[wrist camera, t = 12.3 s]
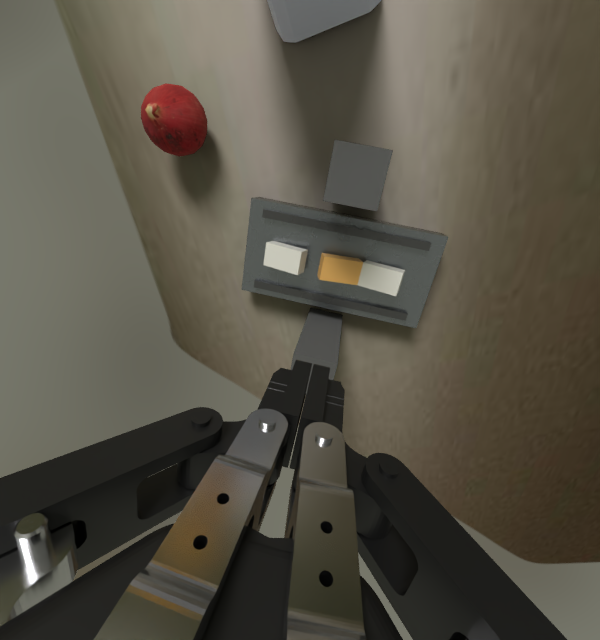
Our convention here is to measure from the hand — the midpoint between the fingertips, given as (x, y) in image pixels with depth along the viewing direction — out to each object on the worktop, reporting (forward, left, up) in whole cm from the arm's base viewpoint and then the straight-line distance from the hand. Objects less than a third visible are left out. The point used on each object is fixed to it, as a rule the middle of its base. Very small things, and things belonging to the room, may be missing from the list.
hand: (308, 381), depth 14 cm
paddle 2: (-5, 0, -23) cm, 23 cm away
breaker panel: (0, 0, -26) cm, 26 cm away
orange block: (0, 0, -23) cm, 22 cm away
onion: (+18, -11, -26) cm, 33 cm away
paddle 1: (+5, 0, -23) cm, 23 cm away
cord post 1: (0, +8, -26) cm, 27 cm away
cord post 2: (0, -9, -26) cm, 27 cm away
